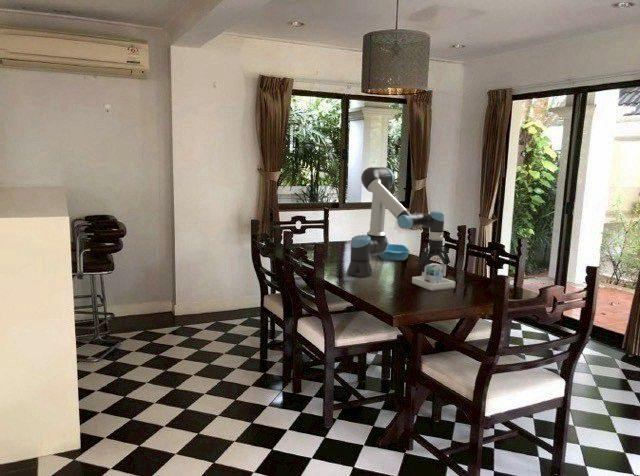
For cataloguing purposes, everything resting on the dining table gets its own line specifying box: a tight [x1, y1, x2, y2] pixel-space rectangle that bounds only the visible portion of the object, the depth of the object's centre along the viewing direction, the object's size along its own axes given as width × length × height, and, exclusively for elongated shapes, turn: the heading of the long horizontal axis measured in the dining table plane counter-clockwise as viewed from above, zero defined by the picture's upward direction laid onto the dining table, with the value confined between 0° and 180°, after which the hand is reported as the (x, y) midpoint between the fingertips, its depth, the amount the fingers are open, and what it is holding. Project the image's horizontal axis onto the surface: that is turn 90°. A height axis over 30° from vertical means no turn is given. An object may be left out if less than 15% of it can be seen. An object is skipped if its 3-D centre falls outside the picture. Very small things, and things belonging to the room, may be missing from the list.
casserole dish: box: [378, 243, 410, 261], centre depth 363 cm, size 37×22×7 cm, turn 1°
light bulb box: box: [424, 262, 444, 284], centre depth 283 cm, size 11×7×11 cm, turn 142°
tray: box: [411, 275, 456, 292], centre depth 284 cm, size 16×18×4 cm
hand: (433, 276), depth 283 cm, fingers open, 13 cm apart
